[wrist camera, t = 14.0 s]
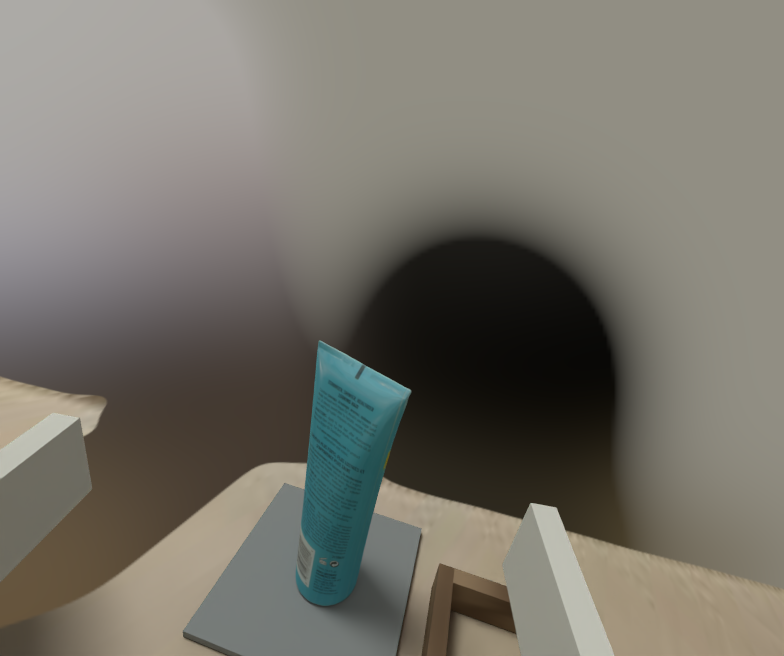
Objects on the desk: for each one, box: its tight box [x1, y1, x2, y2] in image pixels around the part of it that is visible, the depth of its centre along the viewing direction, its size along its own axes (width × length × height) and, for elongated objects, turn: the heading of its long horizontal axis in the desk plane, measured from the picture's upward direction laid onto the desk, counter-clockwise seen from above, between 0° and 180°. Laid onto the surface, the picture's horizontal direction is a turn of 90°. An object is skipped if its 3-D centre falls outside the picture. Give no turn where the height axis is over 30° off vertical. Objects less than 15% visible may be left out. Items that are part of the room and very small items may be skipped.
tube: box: [296, 341, 411, 606], centre depth 27 cm, size 7×5×19 cm, turn 58°
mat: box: [183, 483, 421, 656], centre depth 31 cm, size 14×14×1 cm
